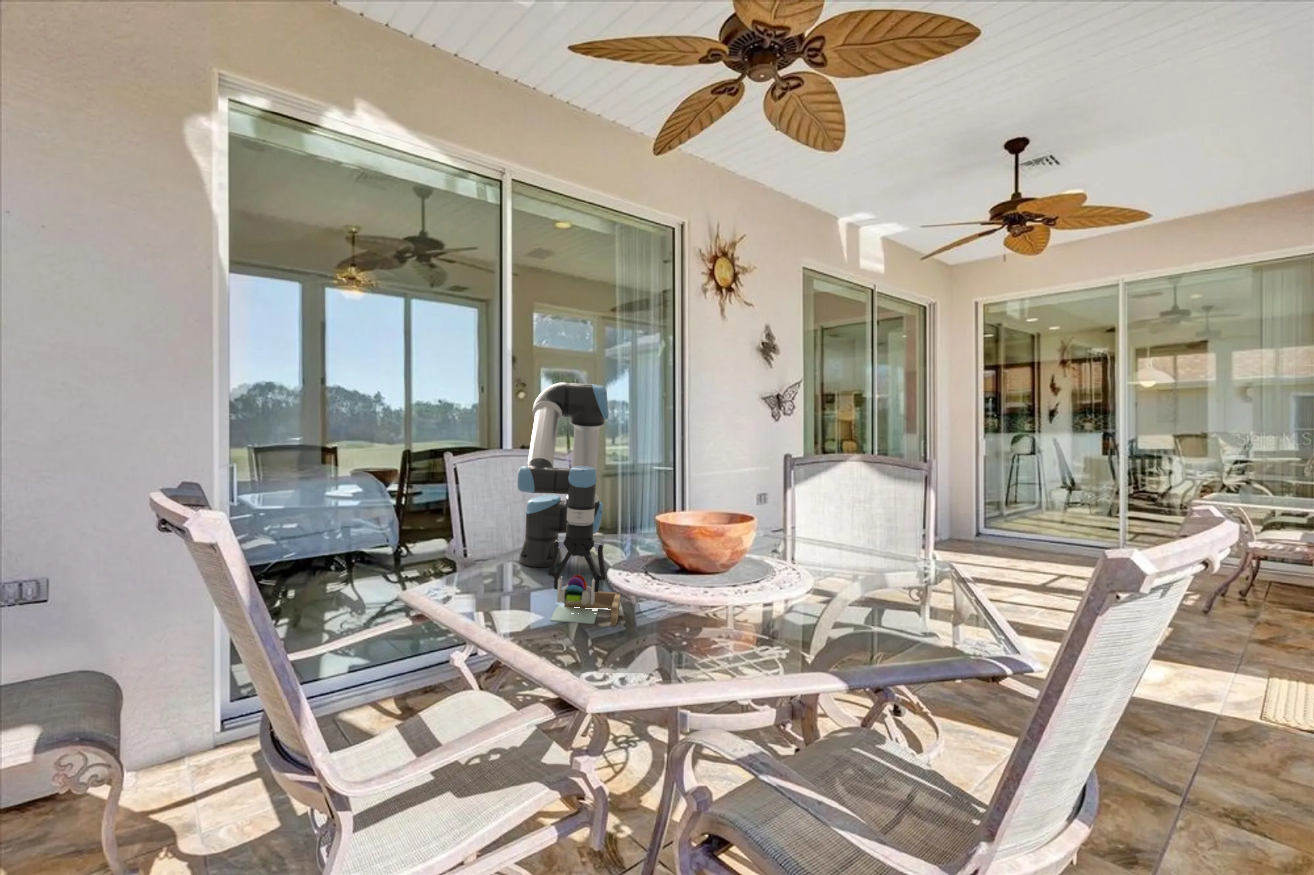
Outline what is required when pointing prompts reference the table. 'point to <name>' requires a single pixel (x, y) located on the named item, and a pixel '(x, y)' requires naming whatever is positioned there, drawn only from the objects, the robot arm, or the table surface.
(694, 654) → the table surface
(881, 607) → the table surface
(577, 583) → the rainbow petal toy
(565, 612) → the pad
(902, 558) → the table surface
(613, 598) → the wooden bracket
